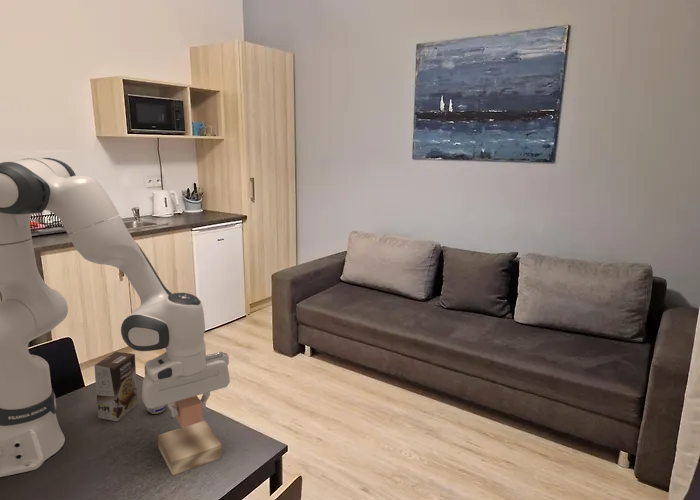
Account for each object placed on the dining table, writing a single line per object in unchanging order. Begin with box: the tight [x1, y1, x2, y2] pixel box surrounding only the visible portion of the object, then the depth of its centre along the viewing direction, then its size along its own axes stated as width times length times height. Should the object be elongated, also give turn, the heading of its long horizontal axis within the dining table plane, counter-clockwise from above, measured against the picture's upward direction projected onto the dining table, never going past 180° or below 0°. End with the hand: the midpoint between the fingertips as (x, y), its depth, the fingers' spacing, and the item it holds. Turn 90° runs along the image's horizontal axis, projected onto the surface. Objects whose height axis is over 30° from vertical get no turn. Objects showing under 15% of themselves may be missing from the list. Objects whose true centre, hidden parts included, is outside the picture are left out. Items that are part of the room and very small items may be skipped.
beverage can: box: [144, 359, 167, 415], centre depth 134 cm, size 5×5×15 cm
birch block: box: [157, 419, 223, 476], centre depth 118 cm, size 12×12×4 cm
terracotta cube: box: [174, 395, 204, 428], centre depth 116 cm, size 5×5×5 cm
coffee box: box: [94, 351, 139, 422], centre depth 132 cm, size 9×6×16 cm
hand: (188, 411), depth 116 cm, fingers closed on terracotta cube, 5 cm apart
